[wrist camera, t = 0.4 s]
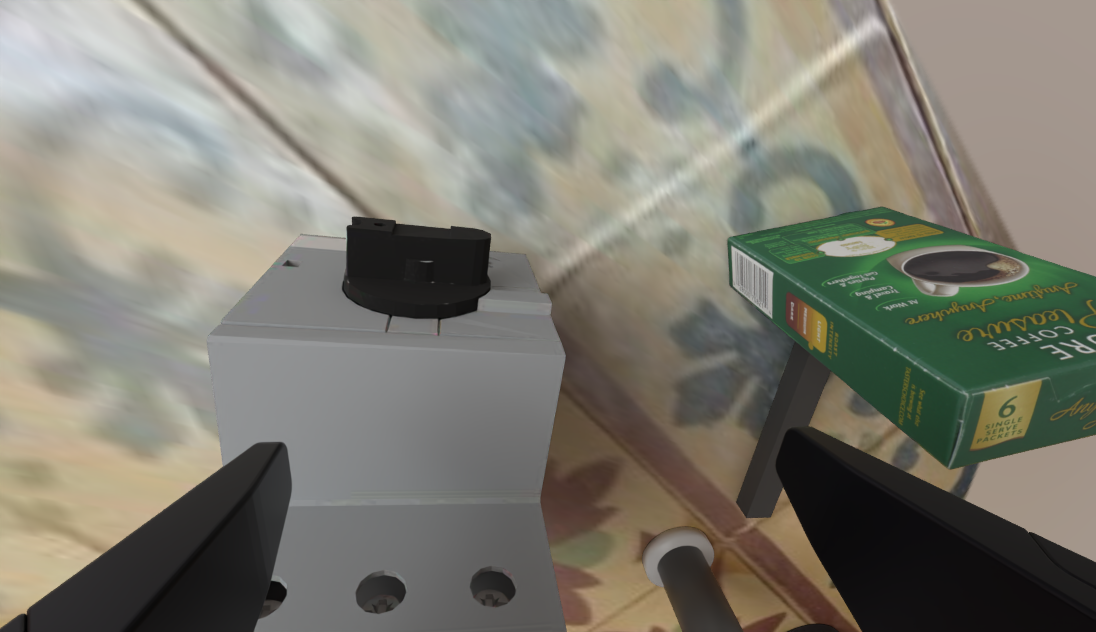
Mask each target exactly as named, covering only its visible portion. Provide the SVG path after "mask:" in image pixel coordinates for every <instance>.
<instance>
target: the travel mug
mask: <svg viewBox="0 0 1096 632" xmlns="http://www.w3.org/2000/svg"><path fill="white" fill-rule="evenodd" d="M788 632H838V631H837V630H836V629H835V628H833V627H831V626H828V625H824V624H811V625H805V626H801V627H798V628H795V629H793V630H790V631H788Z"/></svg>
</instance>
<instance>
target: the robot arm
mask: <svg viewBox="0 0 1096 632" xmlns="http://www.w3.org/2000/svg"><path fill="white" fill-rule="evenodd" d="M775 467H776V472H777V475H778V477H779V479H780V481H781V483H782V485H783V487H784V490H785V492H786V494H787V496H788V498H789V500H790V502H791V504H792V506H793V508H794V511H795V513H796V515H797V517H798V519H799V521H800V523H801V525H802V527H803V529H804V531H805V534H806V536H807V538H808V540H809V541H810V543H811V545H812V547H813V549H814V551H815V553H816V554H817V556H818V558H819V560H820V561H821V563H822V565H823V566H824V568H825V570H826V571H827V573H828V575H829V576H830V578H831V580H832V581H833V583H834V585H835V587H836V588H837V590H838V592H839V593H840V595H841V597H842V598H843V600H844V602H845V603H846V605H847V607H848V608H849V610H850V612H851V613H852V615H853V617H854V619H855V620H856V622H857V624H858V625H859V627H860V629H861V630H862V632H1096V562H1094V561H1092V560H1090V559H1088V558H1086V557H1083V556H1081V555H1079V554H1077V553H1075V552H1073V551H1070V550H1068V549H1066V548H1064V547H1062V546H1060V545H1057V544H1056V543H1053V542H1051V541H1049V540H1047V539H1045V538H1043V537H1041V536H1039V535H1037V534H1035V533H1032V532H1029V533H1028V532H1027V531H1026V530H1025V529H1024V528H1022V527H1020V526H1018V525H1016V524H1013V523H1011V522H1009V521H1007V520H1005V519H1003V518H1001V517H999V516H997V515H995V514H993V513H990V512H988V511H986V510H984V509H982V508H980V507H978V506H976V505H974V504H971V503H969V502H967V501H965V500H963V499H961V498H959V497H957V496H955V495H953V494H951V493H949V492H946V491H944V490H942V489H940V488H938V487H936V486H934V485H932V484H930V483H928V482H926V481H923V480H921V479H919V478H917V477H915V476H913V475H911V474H909V473H907V472H905V471H903V470H900V469H898V468H896V467H894V466H892V465H890V464H888V463H886V462H884V461H882V460H880V459H877V458H875V457H873V456H871V455H869V454H867V453H865V452H863V451H861V450H859V449H856V448H854V447H852V446H850V445H848V444H846V443H844V442H842V441H840V440H838V439H836V438H833V437H831V436H829V435H827V434H825V433H823V432H821V431H819V430H817V429H815V428H812V427H808V426H802V427H791V428H789V429H788V430H787V431H786V432H785V434H784V437H783V440H782V443H781V446H780V449H779V452H778V455H777V457H776V461H775ZM291 493H292V478H291V471H290V463H289V456H288V449H287V446H286V444H285V443H283V442H258V443H256V444H254V445H252V446H251V447H250V448H248V449H247V450H245V451H244V452H243V453H241V454H240V455H239V456H237V457H236V458H234V459H233V460H232V461H230V462H229V463H228V464H226V465H225V466H223V467H222V468H221V469H219V470H218V471H217V472H215V473H214V474H212V475H211V476H210V477H208V478H207V479H206V480H204V481H203V482H201V483H200V484H199V485H197V486H196V487H195V488H193V489H192V490H190V491H189V492H188V493H186V494H185V495H184V496H182V497H181V498H179V499H178V500H177V501H175V502H174V503H173V504H171V505H170V506H168V507H167V508H166V509H164V510H163V511H162V512H160V513H159V514H157V515H156V516H155V517H153V518H152V519H151V520H149V521H148V522H146V523H145V524H144V525H142V526H141V527H140V528H138V529H137V530H135V531H134V532H133V533H131V534H130V535H129V536H127V537H126V538H124V539H123V540H122V541H120V542H119V543H118V544H116V545H115V546H113V547H112V548H111V549H109V550H108V551H107V552H105V553H104V554H102V555H101V556H100V557H98V558H97V559H95V560H94V561H93V562H91V563H90V564H89V565H87V566H86V567H84V568H83V569H82V570H80V571H79V572H78V573H76V574H75V575H73V576H72V577H71V578H69V579H68V580H67V581H65V582H64V583H62V584H61V585H60V586H58V587H57V588H56V589H54V590H53V591H51V592H50V593H49V594H47V595H46V596H45V597H43V598H42V599H40V600H39V601H38V602H36V603H35V604H34V605H32V606H31V607H30V608H29V609H28V610H27V615H26V614H20V615H18V616H17V617H15V618H14V619H13V620H11V621H10V622H8V623H7V624H6V625H4V626H3V627H2V628H0V632H254V630H255V627H256V624H257V622H258V619H259V616H260V613H261V610H262V608H263V605H264V602H265V599H266V596H267V593H268V590H269V586H270V582H271V579H272V575H273V571H274V566H275V562H276V558H277V554H278V549H279V545H280V541H281V537H282V532H283V528H284V524H285V520H286V515H287V511H288V507H289V503H290V498H291Z"/></svg>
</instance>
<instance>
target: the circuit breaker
mask: <svg viewBox="0 0 1096 632" xmlns="http://www.w3.org/2000/svg"><path fill="white" fill-rule="evenodd" d="M490 242H491V234H490V233H488V232H485V231H483V230H479V229H474V228H465V227H455V226H451V229H445V228H435V227H425V226H415V225H405V224H396V221H395V220H385V219H375V218H365V217H352V225H348V226H347V236H346V238H339V237H328V236H317V235H306V234H300V236H299V237H298V238H297V239H296V240H295V241H294V242H293V243H292V244H291V245H290V246H289V247H288V249H287V250H286V251H285V252H284V253H283V254H282V255H281V256H280V257H279V258H278V259H277V261H276V262H275V263H274V264H273V265H272V266H271V267H270V268H269V269H268V270H267V271H266V272H265V274H264V275H263V276H262V277H261V278H260V279H259V280H258V281H257V282H256V283H255V284H254V286H253V287H252V288H251V289H250V290H249V291H248V292H247V293H246V294H245V295H244V296H243V297H242V299H241V300H240V301H239V302H238V303H237V304H236V305H235V306H234V307H233V308H232V309H231V311H230V312H229V313H228V314H227V315H226V316H225V317H224V318H223V319H222V320H221V325H218V326H217V327H216V328H215V329H214V330H213V331H212V332H211V333H210V334H209V335H208V339H207V347H208V355H209V363H210V370H211V378H212V386H213V393H214V401H215V409H216V417H217V424H218V432H219V440H220V447H221V455H222V463H223V466H225V465H226V464H228V463H229V462H230V461H232V460H233V459H234V458H236V457H237V456H239V455H240V454H241V453H243V452H244V451H245V450H247V449H248V448H250V447H251V446H252V445H254V444H256V443H258V442H283V443H285V444H286V446H287V449H288V456H289V463H290V471H291V478H292V493H291V498H290V503H289V507H288V511H287V515H286V520H285V524H284V528H283V532H282V537H281V541H280V545H279V549H278V554H277V558H276V562H275V566H274V571H273V575H272V579H271V582H270V586H269V590H268V593H267V596H266V599H265V602H264V605H263V608H262V610H261V613H260V616H259V619H258V622H257V624H256V627H255V630H254V632H567V630H566V625H565V621H564V616H563V611H562V606H561V601H560V596H559V591H558V587H557V582H556V577H555V572H554V567H553V562H552V558H551V553H550V548H549V543H548V538H547V533H546V528H545V524H544V519H543V514H542V509H541V504H540V496H541V490H542V485H543V479H544V474H545V468H546V463H547V457H548V452H549V446H550V441H551V435H552V430H553V424H554V419H555V413H556V408H557V402H558V397H559V391H560V386H561V380H562V375H563V369H564V364H565V358H566V355H565V352H564V349H563V346H562V343H561V342H560V338H559V335H558V333H557V331H556V328H555V326H554V323H553V321H552V318H551V316H550V315H551V308H552V302H551V300H550V298H549V296H548V294H544V293H541V291H540V289H539V286H538V284H537V281H536V279H535V276H534V274H533V271H532V269H531V266H530V264H529V262H528V259H527V257H526V254H515V253H504V252H493V251H490Z"/></svg>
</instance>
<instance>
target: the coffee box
mask: <svg viewBox="0 0 1096 632" xmlns="http://www.w3.org/2000/svg"><path fill="white" fill-rule="evenodd" d="M728 258H729V285H730V287H732V288H733V289H734V290H735V291H736V292H738V293H739V294H740V295H741V296H742V297H744V298H745V299H746V300H747V301H748V302H749V303H750V304H752V305H753V306H754V307H755V308H756V309H758V310H759V311H760V312H761V313H762V314H764V315H765V316H766V317H767V318H768V319H770V320H771V321H772V322H773V323H774V324H776V325H777V326H778V327H779V328H780V329H782V330H783V331H784V332H785V333H786V334H787V335H789V336H790V337H791V338H792V339H794V340H795V341H796V342H797V343H798V344H800V345H801V346H802V347H803V348H804V349H805V350H807V351H808V352H809V353H810V354H811V355H813V356H814V357H815V358H816V359H817V360H819V361H820V362H821V363H822V364H823V365H824V366H826V367H827V368H828V369H829V370H831V371H832V372H833V373H834V374H835V375H837V376H838V377H839V378H840V379H841V380H843V381H844V382H845V383H846V384H847V385H848V386H850V387H851V388H852V389H853V390H854V391H855V392H857V393H858V394H859V395H860V396H861V397H863V398H864V399H865V400H866V401H867V402H869V403H870V404H871V405H872V406H873V407H874V408H876V409H877V410H878V411H879V412H880V413H882V414H883V415H884V416H885V417H886V418H888V419H889V420H890V421H891V422H892V423H894V424H895V425H896V426H897V427H898V428H899V429H901V430H902V431H903V432H904V433H905V434H907V435H908V436H909V437H910V438H911V439H913V440H914V441H915V442H916V443H918V444H919V445H920V446H921V447H922V448H923V449H924V450H926V451H927V452H928V453H929V454H930V455H932V456H933V457H934V458H935V459H936V460H938V461H939V462H940V463H941V464H942V465H944V466H945V467H946V468H948V469H950V470H951V469H955V468H959V467H963V466H967V465H971V464H975V463H979V462H983V461H987V460H991V459H996V458H1000V457H1004V456H1007V455H1012V454H1016V453H1021V452H1025V451H1029V450H1033V449H1038V448H1042V447H1046V446H1050V445H1055V444H1059V443H1063V442H1067V441H1072V440H1076V439H1080V438H1085V437H1089V436H1093V435H1096V277H1095V276H1092V275H1089V274H1086V273H1082V272H1079V271H1076V270H1073V269H1070V268H1067V267H1063V266H1060V265H1058V264H1055V263H1052V262H1048V261H1045V260H1042V259H1039V258H1036V257H1033V256H1030V255H1026V254H1023V253H1021V252H1018V251H1015V250H1013V249H1009V248H1006V247H1003V246H1000V245H997V244H994V243H991V242H988V241H985V240H982V239H979V238H976V237H973V236H970V235H967V234H964V233H961V232H958V231H955V230H952V229H949V228H946V227H943V226H940V225H937V224H933V223H930V222H927V221H924V220H921V219H918V218H915V217H912V216H908V215H905V214H903V213H900V212H897V211H894V210H891V209H888V208H885V207H878V208H873V209H868V210H863V211H855V212H849V213H844V214H841V215H839V216H835V217H829V218H825V219H820V220H814V221H809V222H804V223H798V224H794V225H789V226H784V227H779V228H773V229H767V230H762V231H757V232H754V233H748V234H743V235H739V236H733V237H729V238H728Z"/></svg>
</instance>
